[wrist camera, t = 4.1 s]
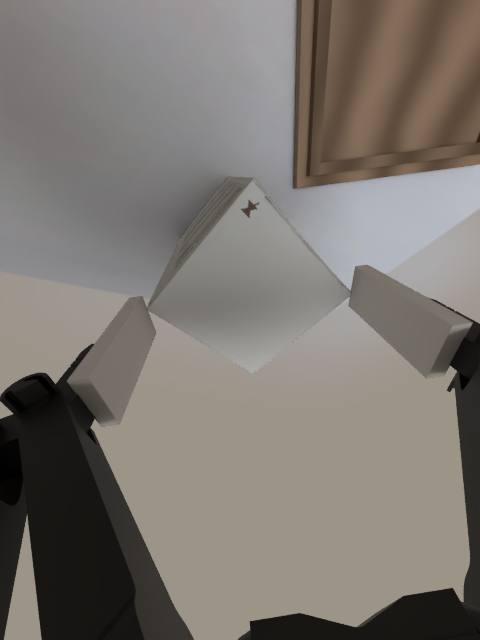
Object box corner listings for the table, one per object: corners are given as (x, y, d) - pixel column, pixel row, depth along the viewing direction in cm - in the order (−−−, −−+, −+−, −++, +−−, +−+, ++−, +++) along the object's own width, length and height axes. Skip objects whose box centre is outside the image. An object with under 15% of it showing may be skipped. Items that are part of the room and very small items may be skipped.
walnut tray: (293, 187, 25) (299, 188, 23) (301, -209, 14) (315, -270, 12) (474, 164, 25) (494, 163, 24) (629, -241, 14) (692, -304, 12)
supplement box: (177, 239, 27) (136, 308, 13) (228, 173, 24) (248, 166, 10) (235, 287, 31) (253, 379, 17) (285, 236, 28) (358, 296, 14)
